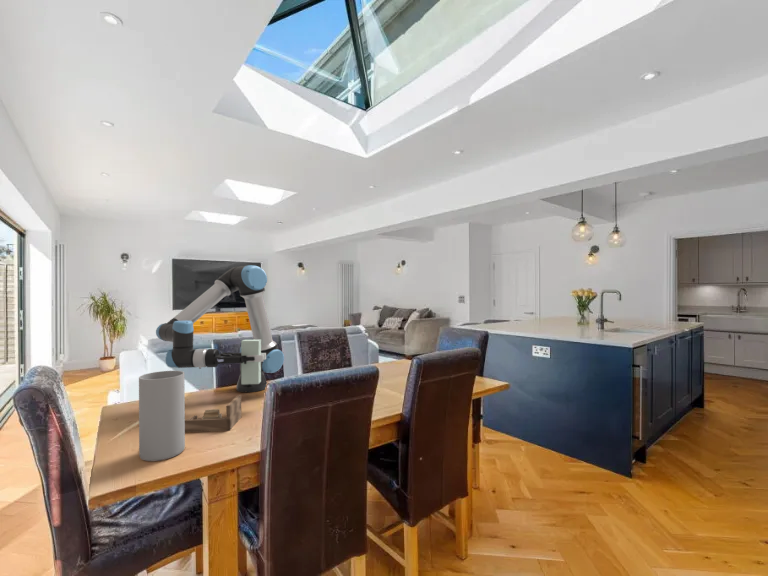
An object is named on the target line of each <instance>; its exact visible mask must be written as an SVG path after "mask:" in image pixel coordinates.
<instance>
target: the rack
mask: <svg viewBox="0 0 768 576" xmlns="http://www.w3.org/2000/svg"><path fill="white" fill-rule="evenodd" d="M225 410H226V412H225V414H226V415H225V416H226V417H222V418H221V419H202V417H200V418H198V415H194V416H192V417H191V418H189V419H185V433H189V432H190V433H195V432H198V433H199V432H222V431H223V432H224V431H226V432H228V431H231V430H232V429H233V427H234V426H235V425H236V424H237V423H238V422H239V420H241V418H242V394H238V395H236V396H235V397H234V398H233V399H232V400H231V401H230V402H229V403H228V404H227V405H226V406H225Z"/></svg>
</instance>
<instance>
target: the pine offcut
mask: <svg viewBox="0 0 768 576" xmlns="http://www.w3.org/2000/svg"><path fill="white" fill-rule="evenodd" d="M220 411H221V409H220V408H213V409H211V408H210V409H204V412H203V416H204V417H216V416H218V415H219V414H220Z"/></svg>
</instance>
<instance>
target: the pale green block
mask: <svg viewBox="0 0 768 576" xmlns="http://www.w3.org/2000/svg"><path fill="white" fill-rule="evenodd" d="M240 348H241V356H246V357H247V355H261V340H254V339H242V340H241V347H240ZM260 382H261V362H247V361H246V364H244V363H241V384H259V383H260Z"/></svg>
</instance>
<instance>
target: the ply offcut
mask: <svg viewBox="0 0 768 576" xmlns="http://www.w3.org/2000/svg"><path fill="white" fill-rule="evenodd" d="M201 418H202V419H221V418H223V417H222V413H219V415H218V416H216V417H204V415H203V416H202V417H201Z"/></svg>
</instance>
